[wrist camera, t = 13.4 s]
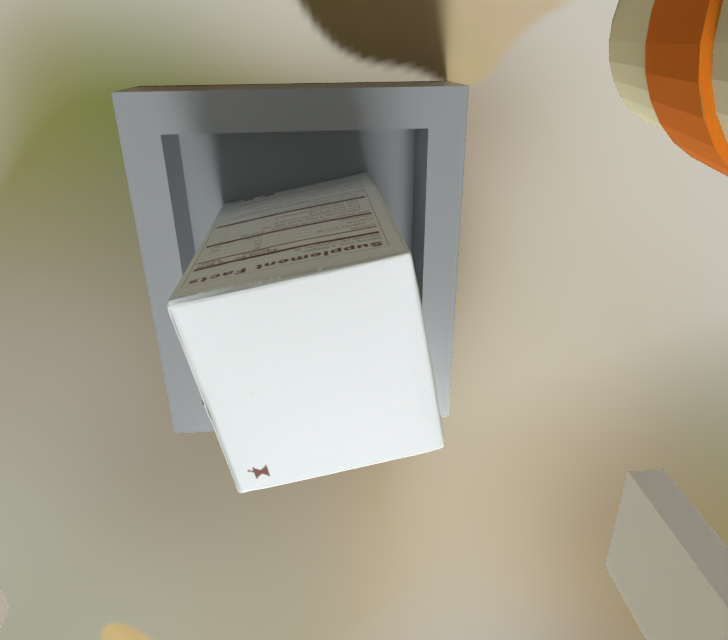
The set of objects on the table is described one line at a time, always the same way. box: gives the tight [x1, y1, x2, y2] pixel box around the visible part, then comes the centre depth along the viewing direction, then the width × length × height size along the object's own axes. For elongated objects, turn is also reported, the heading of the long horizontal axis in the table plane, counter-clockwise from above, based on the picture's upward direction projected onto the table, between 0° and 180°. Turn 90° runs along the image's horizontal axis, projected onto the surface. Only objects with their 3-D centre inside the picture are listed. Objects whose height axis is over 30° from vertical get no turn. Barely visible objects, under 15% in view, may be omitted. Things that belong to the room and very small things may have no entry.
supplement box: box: [167, 172, 444, 493], centre depth 23 cm, size 7×7×13 cm
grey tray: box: [111, 81, 469, 433], centre depth 28 cm, size 16×14×4 cm
